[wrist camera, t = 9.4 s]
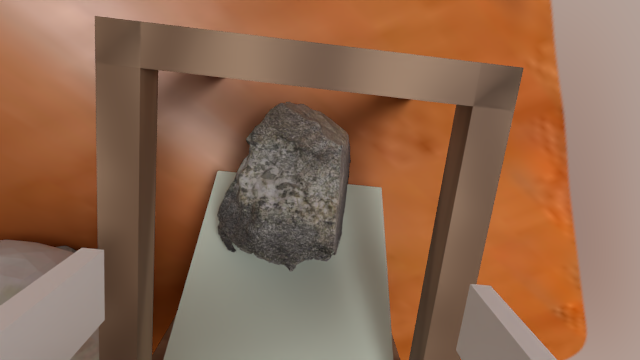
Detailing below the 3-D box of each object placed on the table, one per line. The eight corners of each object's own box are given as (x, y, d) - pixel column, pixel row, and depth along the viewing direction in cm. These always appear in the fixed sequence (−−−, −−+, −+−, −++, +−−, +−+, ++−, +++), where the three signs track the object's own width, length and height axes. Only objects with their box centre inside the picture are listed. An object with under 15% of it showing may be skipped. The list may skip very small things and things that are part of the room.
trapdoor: (117, 558, 19) (97, 562, 17) (219, 186, 34) (216, 162, 32) (397, 575, 20) (414, 581, 17) (376, 202, 35) (384, 179, 33)
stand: (194, 300, 38) (100, 473, 21) (205, 51, 33) (94, 16, 16) (377, 316, 39) (430, 495, 22) (416, 76, 34) (523, 68, 17)
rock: (331, 294, 26) (338, 240, 21) (202, 272, 27) (179, 215, 22) (354, 149, 35) (362, 86, 30) (256, 135, 35) (248, 72, 30)
